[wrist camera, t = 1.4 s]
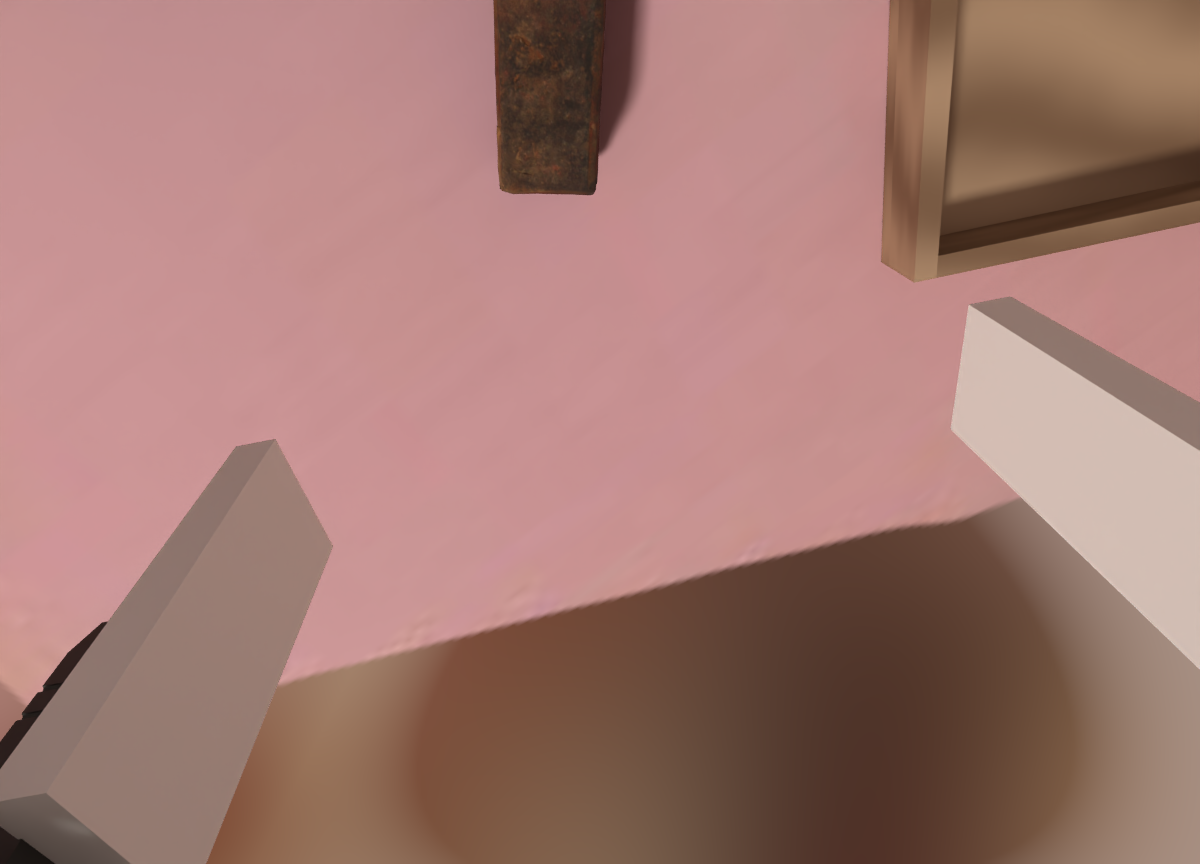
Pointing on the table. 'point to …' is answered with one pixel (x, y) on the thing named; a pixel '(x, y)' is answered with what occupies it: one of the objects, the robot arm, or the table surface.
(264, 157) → the table surface
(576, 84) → the brick
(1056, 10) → the tray
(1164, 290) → the table surface
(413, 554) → the table surface
